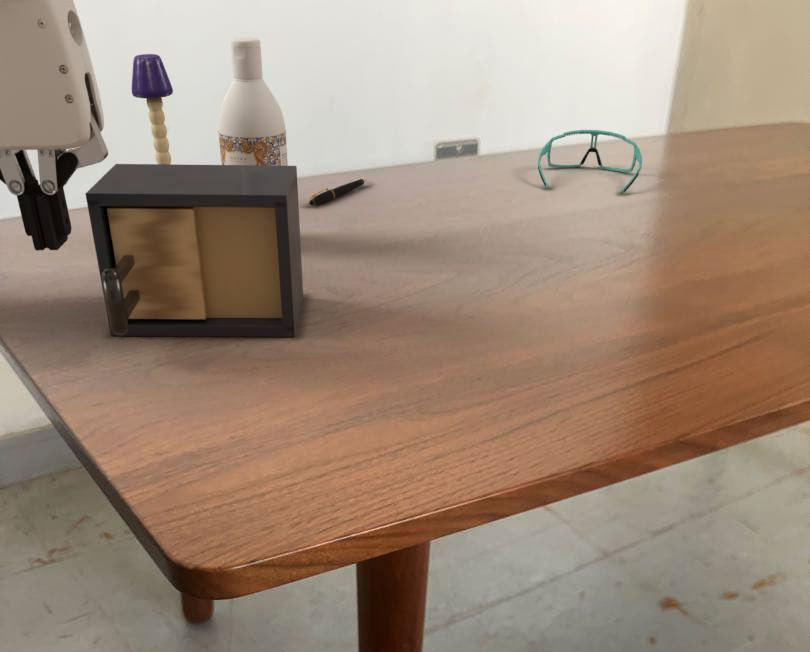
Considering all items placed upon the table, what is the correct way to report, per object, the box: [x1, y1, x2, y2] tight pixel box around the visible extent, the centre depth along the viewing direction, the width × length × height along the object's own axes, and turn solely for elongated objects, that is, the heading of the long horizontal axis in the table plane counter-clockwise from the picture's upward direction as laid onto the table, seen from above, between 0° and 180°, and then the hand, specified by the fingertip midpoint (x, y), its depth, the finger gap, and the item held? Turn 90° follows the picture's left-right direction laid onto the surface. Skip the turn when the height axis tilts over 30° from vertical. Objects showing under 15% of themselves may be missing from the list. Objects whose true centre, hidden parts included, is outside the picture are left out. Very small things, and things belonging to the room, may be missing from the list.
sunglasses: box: [537, 129, 643, 195], centre depth 127 cm, size 14×15×5 cm
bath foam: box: [217, 36, 289, 166], centre depth 96 cm, size 7×7×20 cm
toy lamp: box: [131, 53, 174, 164], centre depth 109 cm, size 5×5×17 cm
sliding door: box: [102, 206, 207, 335], centre depth 75 cm, size 7×7×9 cm
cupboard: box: [85, 163, 304, 338], centre depth 81 cm, size 16×10×12 cm, turn 91°
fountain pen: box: [308, 178, 368, 207], centre depth 118 cm, size 14×1×2 cm, turn 151°
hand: (52, 244), depth 70 cm, fingers closed
